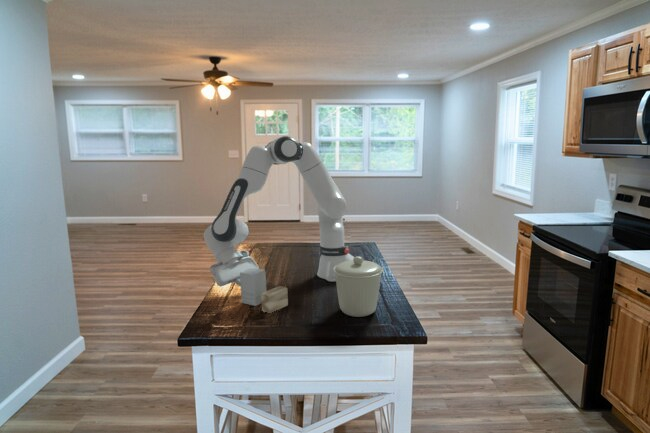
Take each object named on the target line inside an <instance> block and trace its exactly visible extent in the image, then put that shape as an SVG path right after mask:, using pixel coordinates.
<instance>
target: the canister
mask: <svg viewBox="0 0 650 433" xmlns="http://www.w3.org/2000/svg"><path fill="white" fill-rule="evenodd" d="M353 257H354V259H353V260H350V261H345V262H342V263H340V264H338V265H336V266H335V267H334V268H333V271H334V273H335V276H336V281H335V284H336V292H337V298H338V305H339V308H340V310H341V311H342V313H344V314H345V315H347V316H351V317H356V318H360V317H361V318H362V317H367V316H370V315H371V314H373V313H375V311H376V309H377V305H378V299H379V294H380V293H379V292H380V285H381V279H382V278H381V277H382V276H381V275H382V274H383V272H384V268H383V267H382V266H381V265H379V264H378V263H376V262H375V261H374V262H373V261H371V260H370V261H369V260H364V259H363V257H362V256H357V255H356V256H353Z"/></svg>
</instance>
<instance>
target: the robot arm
mask: <svg viewBox="0 0 650 433" xmlns="http://www.w3.org/2000/svg"><path fill="white" fill-rule="evenodd" d="M288 163H293V164H294V165H295V166H296V168H297V170H298V171H299V173H300V175H301V176H302V178H303V180H304V182H305V184H306V185H307V187H308V189H309V190H310V192H311V193H312V196H313V198H314V199H315V200H316V202H317V211H318V212H317V213H318V222H319V223H318V224H319V242H320V243H319V245H318V246H319V247H318V256H319V263H318V270H317V273H316V276H317V277H318V278H320V279H323V280H326V281H328V282H336V276H335V273H334V271H333V268H334V267H335V266H336V265H338V264H340V263H342V262H345V261H350V260H353V259H354V257H355V256H353V255H352V254H350V248H349V245H345V227H344V226H345V225H344V220H343V217H344V216H345V214H346V213H347V210H348V205H347V201H346V199H345V197H344V195H343V194H342V192H341V190H340V189H339V187H338V185H337V184H336V183H335V181H334V179H333V178H332V176H331V175H330V172H329V171H328V169H327V167H326V165H325V164H324V161H323V159H322V157H321V156H320V155H319V153H318V152H317V150H316V149H315V147H314V146H313V145H312V144H311V142H310V143H309V142H308V141H306V142H305V141H304V142H299V141H297V140H296V138H294V137H291V136H287V135H284V136H281V137H277V138H275V139H274V140H272V141H270V142H268V144H267V145H265V146H263V145H254V146H252V147H251V148H250V150H249V151H248V153H247V154H246V156H245V159H244V161H243V164H242V167H241V170H240V172H239V174H238V177H237V179H236V180H235V181H234V183H233V184H232V186H231V187H230V190H229V192H228V194H227V196H226V199H225V201H224V203H223V206H222V208H221V209H220V212H219V214H218V215H216V218H214V220H213V222H212V223H211V224H210V225H209V226H208V227H207V228H206V229H205V230H204V233H203V238H204V239H203V240H204V242H205V244H206V247H207V248H208V249H209V251H210V253H212V254H213V255H214V259H215V261H216V263H214V264H212V265H210V268H209V270H210V272H211V274H212V276H213V278H214V282H215V284H216V285H217V286H218V287H224V286H226V285H229V284H231V283H235V285H237V286H239V287H241V282H240V273H241V272H243V271H245V270H247V269H250V268H256V269H260V267H259V265H258V264H257V261H255V259H254V258H253V257H252V256H250V252H249V251H248V250H241V249H236V248H235V247H236V246H237V245H240V244H241V243H243V242H245V241H246V240H247V238H248V237H249V233H250V230H249V226H248V225H247V223H246V222H244V221H242V220H239V219H237V215H238V213H239V211H240V209H241V206H242V204H243V202H244V200H245V198H247V197H248V196H250V195H252V194H256V193H259V192H260V191H262V189H263V187H264V186H265V184H266V181H267V178H268V176H269V172H270V169H271V167H272V166H273V165H285V164H288Z"/></svg>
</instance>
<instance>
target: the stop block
mask: <svg viewBox="0 0 650 433" xmlns="http://www.w3.org/2000/svg"><path fill="white" fill-rule="evenodd" d="M288 294H289V293H288V287H286V286H281V285H278V286H276V287H274V288H271V289H269V290H267V291H266V292H264V293H261V301H262V303H261V312H262V311H263V313H265V312H267V313H266V314H268V313H271V314H272V312H273V313H274V311H275V312H277V311H279V310H281V309H283V308H285V307H287V306H288V305H289V297H288V296H289V295H288ZM276 310H277V311H276Z"/></svg>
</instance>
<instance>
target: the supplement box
mask: <svg viewBox="0 0 650 433" xmlns="http://www.w3.org/2000/svg"><path fill="white" fill-rule="evenodd" d="M240 282H241V286H240V294H241V296H240V297H241V298H240V299H241V304H246V305H250V306H255V307H257V306H259V305H260V304H261V305H262V301H261V293H264V292H266V291H268V290H267V275H266V269H263V268H261V269H260V268H259V269H256V268H250V269H247V270H245V271H243V272H241V273H240Z"/></svg>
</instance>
